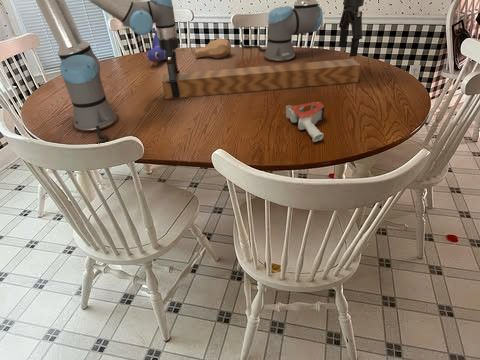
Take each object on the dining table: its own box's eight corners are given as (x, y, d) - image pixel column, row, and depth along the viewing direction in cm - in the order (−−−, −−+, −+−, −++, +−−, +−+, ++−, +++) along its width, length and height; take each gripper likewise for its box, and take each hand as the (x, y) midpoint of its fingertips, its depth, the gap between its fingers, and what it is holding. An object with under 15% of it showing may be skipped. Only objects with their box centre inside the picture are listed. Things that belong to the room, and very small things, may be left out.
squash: (233, 58, 187) (229, 42, 180) (196, 65, 189) (191, 49, 182) (232, 49, 194) (229, 33, 188) (196, 56, 196) (192, 40, 190)
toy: (161, 62, 200) (141, 68, 178) (157, 30, 193) (135, 32, 171) (177, 61, 198) (159, 67, 176) (173, 29, 191) (154, 30, 169)
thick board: (165, 98, 148) (161, 81, 144) (166, 91, 155) (163, 74, 150) (358, 82, 152) (360, 64, 147) (351, 75, 159) (353, 58, 154)
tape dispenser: (318, 148, 112) (340, 119, 125) (320, 134, 109) (342, 106, 122) (269, 134, 120) (295, 107, 132) (269, 120, 116) (295, 94, 129)
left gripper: (176, 44, 130) (184, 102, 143) (178, 30, 147) (186, 83, 160) (155, 46, 129) (166, 104, 143) (160, 31, 146) (169, 84, 160)
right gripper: (377, -1, 125) (367, 59, 138) (352, -12, 146) (346, 42, 158) (356, 1, 125) (348, 61, 138) (334, -10, 145) (329, 43, 158)
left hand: (176, 93), depth 151 cm, fingers closed on thick board, 8 cm apart
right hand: (347, 51), depth 148 cm, fingers open, 13 cm apart
